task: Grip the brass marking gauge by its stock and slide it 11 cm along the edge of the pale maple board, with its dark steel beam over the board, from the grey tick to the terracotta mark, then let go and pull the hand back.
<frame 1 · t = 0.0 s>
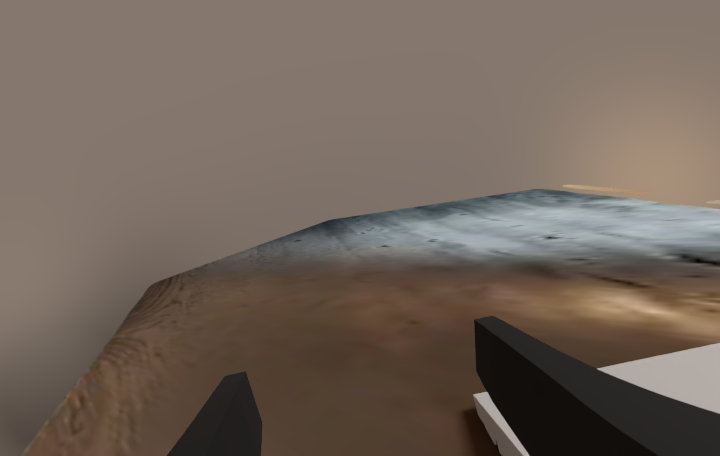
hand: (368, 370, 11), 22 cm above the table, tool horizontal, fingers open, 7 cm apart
decorative molding: (677, 420, 32), on the table
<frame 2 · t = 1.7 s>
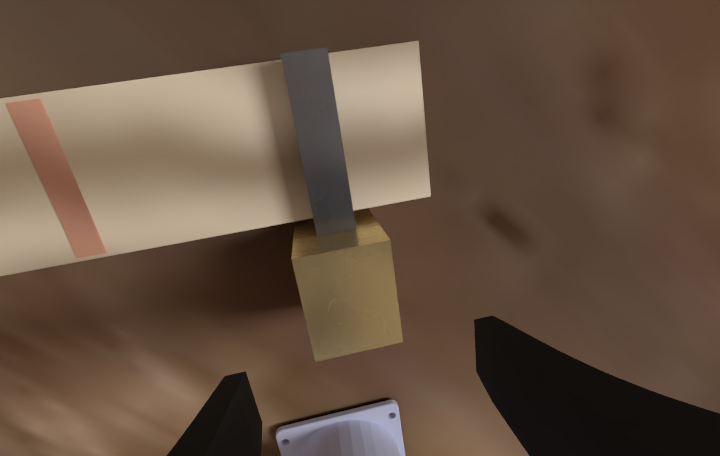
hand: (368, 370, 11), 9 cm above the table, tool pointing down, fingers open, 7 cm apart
maple board: (127, 170, 16), on the table
marking gauge: (339, 257, 19), on the table
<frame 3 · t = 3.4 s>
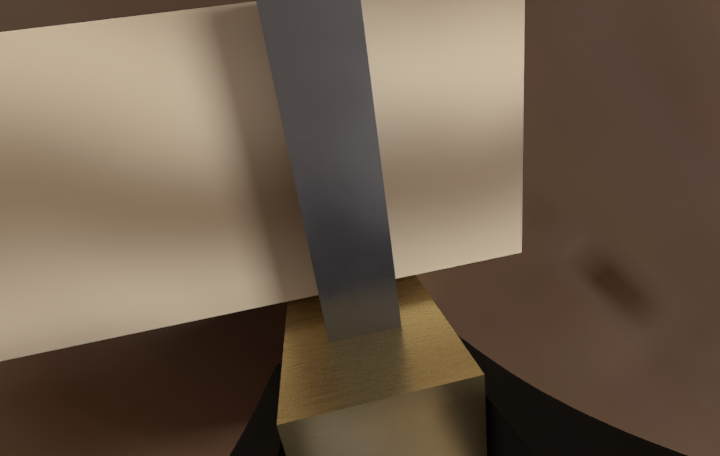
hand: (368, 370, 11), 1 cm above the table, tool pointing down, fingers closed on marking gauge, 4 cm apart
marking gauge: (361, 342, 12), on the table, touching gripper
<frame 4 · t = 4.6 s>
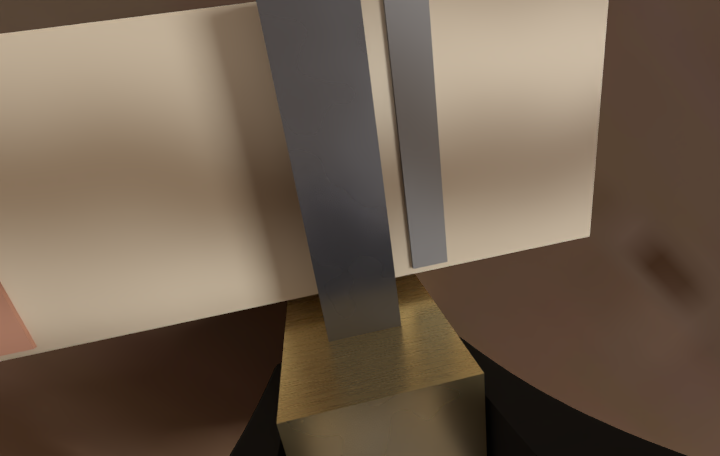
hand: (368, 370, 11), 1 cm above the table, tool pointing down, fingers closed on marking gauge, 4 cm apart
maple board: (77, 197, 9), on the table
marking gauge: (360, 341, 12), on the table, touching gripper
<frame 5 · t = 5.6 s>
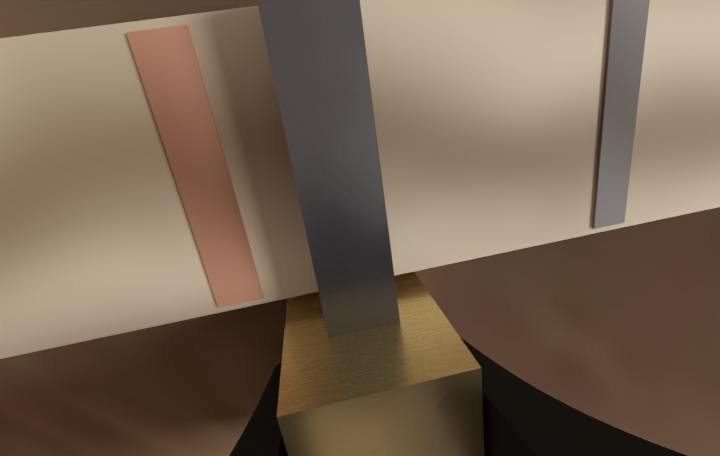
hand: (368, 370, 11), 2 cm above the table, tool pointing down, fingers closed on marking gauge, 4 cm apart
maple board: (290, 161, 10), on the table
marking gauge: (360, 338, 12), on the table, touching gripper
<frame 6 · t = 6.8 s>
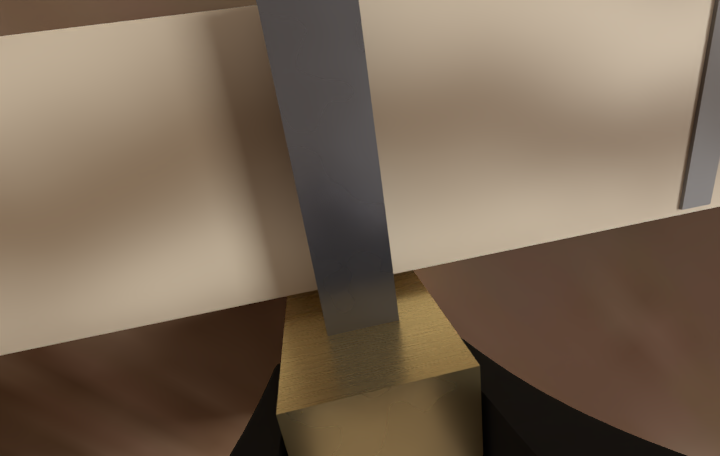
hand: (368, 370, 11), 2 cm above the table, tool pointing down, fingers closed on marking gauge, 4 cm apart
maple board: (393, 142, 10), on the table
marking gauge: (359, 337, 12), on the table, touching gripper
when the fingers open (2 cm above the table, at t = 7.6 s): marking gauge stays where it is, on the table.
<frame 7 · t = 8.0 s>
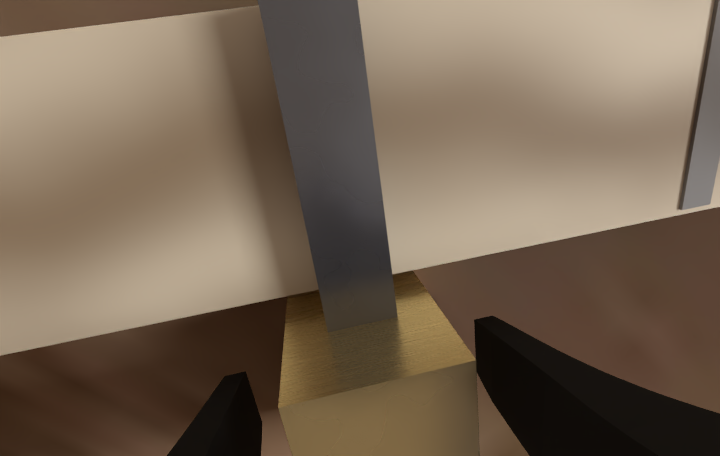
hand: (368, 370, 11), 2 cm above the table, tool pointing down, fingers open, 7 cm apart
maple board: (393, 143, 10), on the table
marking gauge: (359, 335, 12), on the table
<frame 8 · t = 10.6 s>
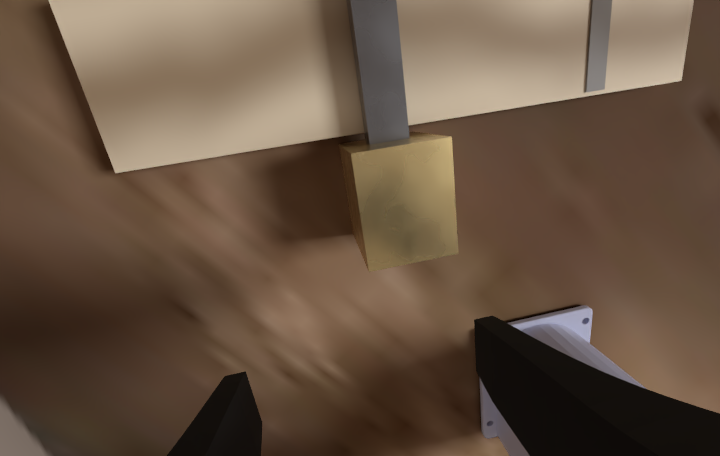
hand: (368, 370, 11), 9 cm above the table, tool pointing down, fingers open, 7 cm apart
maple board: (406, 47, 17), on the table
marking gauge: (382, 184, 19), on the table
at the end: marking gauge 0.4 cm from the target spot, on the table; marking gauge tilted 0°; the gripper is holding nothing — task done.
